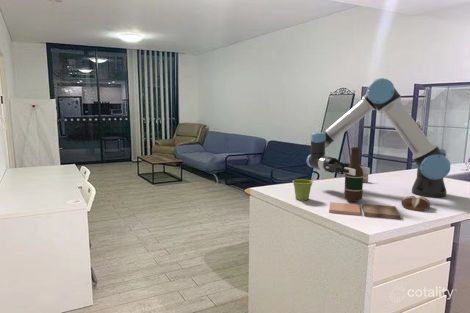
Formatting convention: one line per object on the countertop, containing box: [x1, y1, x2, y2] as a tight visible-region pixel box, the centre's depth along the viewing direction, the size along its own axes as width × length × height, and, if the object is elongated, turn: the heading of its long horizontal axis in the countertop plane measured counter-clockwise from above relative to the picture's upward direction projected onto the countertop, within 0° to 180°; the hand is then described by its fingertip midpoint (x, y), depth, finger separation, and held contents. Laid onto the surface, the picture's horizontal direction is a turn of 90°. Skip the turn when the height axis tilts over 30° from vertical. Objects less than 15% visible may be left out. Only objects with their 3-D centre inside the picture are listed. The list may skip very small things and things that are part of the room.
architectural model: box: [363, 173, 369, 184], centre depth 193 cm, size 3×7×7 cm, turn 51°
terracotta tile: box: [328, 201, 361, 216], centre depth 138 cm, size 12×12×1 cm
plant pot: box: [292, 178, 314, 202], centre depth 155 cm, size 9×9×9 cm
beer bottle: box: [343, 146, 364, 202], centre depth 150 cm, size 8×8×24 cm
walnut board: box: [361, 203, 401, 220], centre depth 134 cm, size 13×13×2 cm
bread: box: [401, 195, 431, 212], centre depth 142 cm, size 11×11×5 cm
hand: (362, 171), depth 145 cm, fingers closed on beer bottle, 7 cm apart
